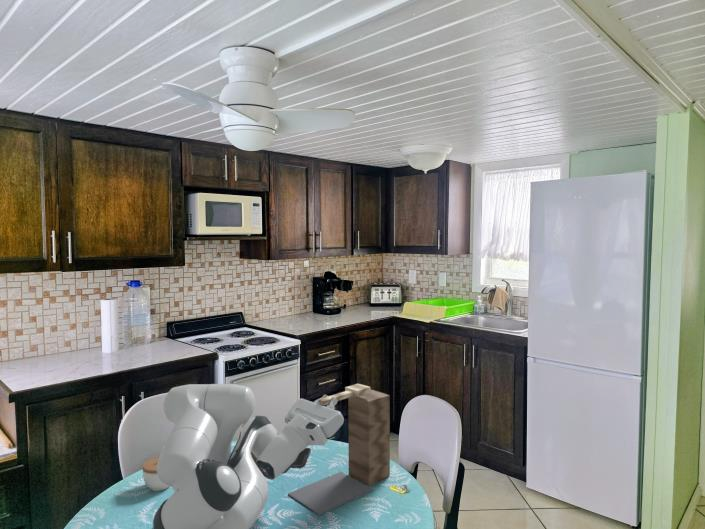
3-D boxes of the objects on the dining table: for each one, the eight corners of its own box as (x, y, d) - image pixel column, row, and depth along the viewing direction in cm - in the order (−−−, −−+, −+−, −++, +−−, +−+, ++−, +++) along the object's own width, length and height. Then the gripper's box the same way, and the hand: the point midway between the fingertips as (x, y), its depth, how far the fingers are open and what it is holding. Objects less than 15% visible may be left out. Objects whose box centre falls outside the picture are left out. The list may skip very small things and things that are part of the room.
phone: (282, 464, 172) (291, 447, 187) (282, 467, 172) (291, 450, 187) (304, 465, 171) (311, 448, 186) (304, 468, 171) (311, 450, 186)
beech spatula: (327, 406, 147) (327, 400, 147) (315, 402, 151) (315, 396, 151) (370, 392, 160) (370, 386, 160) (357, 389, 165) (357, 383, 164)
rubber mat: (319, 515, 140) (319, 513, 140) (288, 494, 152) (288, 493, 152) (372, 490, 155) (372, 488, 155) (340, 473, 167) (340, 471, 167)
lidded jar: (177, 476, 165) (177, 449, 164) (177, 491, 155) (177, 462, 154) (143, 481, 161) (143, 454, 161) (141, 497, 151) (140, 467, 151)
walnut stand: (368, 485, 158) (368, 401, 157) (348, 475, 165) (348, 394, 164) (389, 476, 164) (389, 395, 163) (369, 466, 172) (369, 388, 171)
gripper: (286, 428, 153) (314, 398, 161) (328, 446, 138) (357, 412, 146) (277, 413, 150) (307, 383, 158) (319, 431, 136) (349, 397, 144)
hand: (331, 397), depth 152 cm, fingers closed on beech spatula, 2 cm apart
